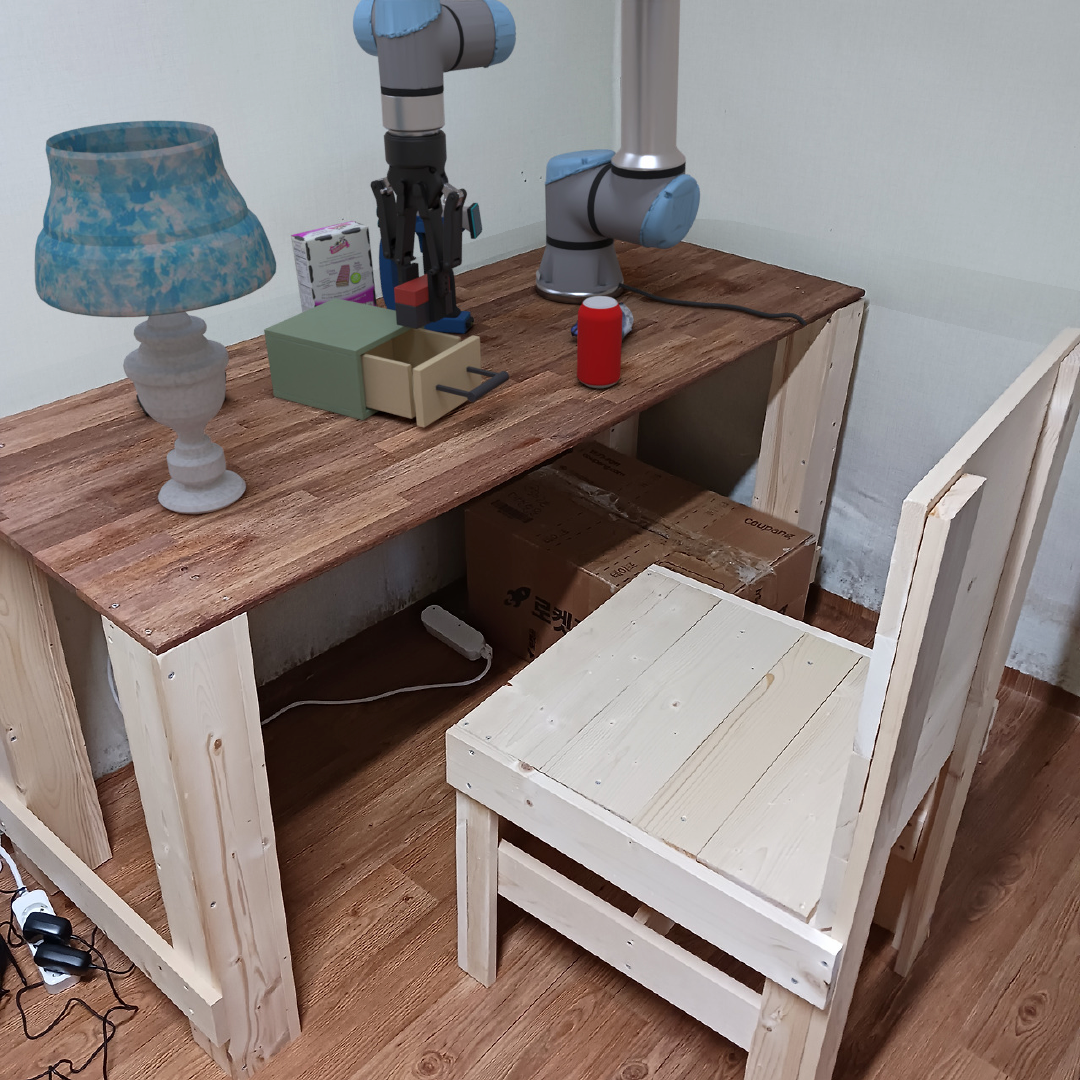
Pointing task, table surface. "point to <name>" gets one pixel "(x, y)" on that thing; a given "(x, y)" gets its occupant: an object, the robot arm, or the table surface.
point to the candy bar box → (334, 265)
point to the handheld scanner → (389, 274)
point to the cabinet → (328, 354)
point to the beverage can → (599, 342)
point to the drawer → (425, 374)
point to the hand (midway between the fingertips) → (425, 316)
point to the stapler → (415, 303)
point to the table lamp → (156, 273)
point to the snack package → (626, 322)
